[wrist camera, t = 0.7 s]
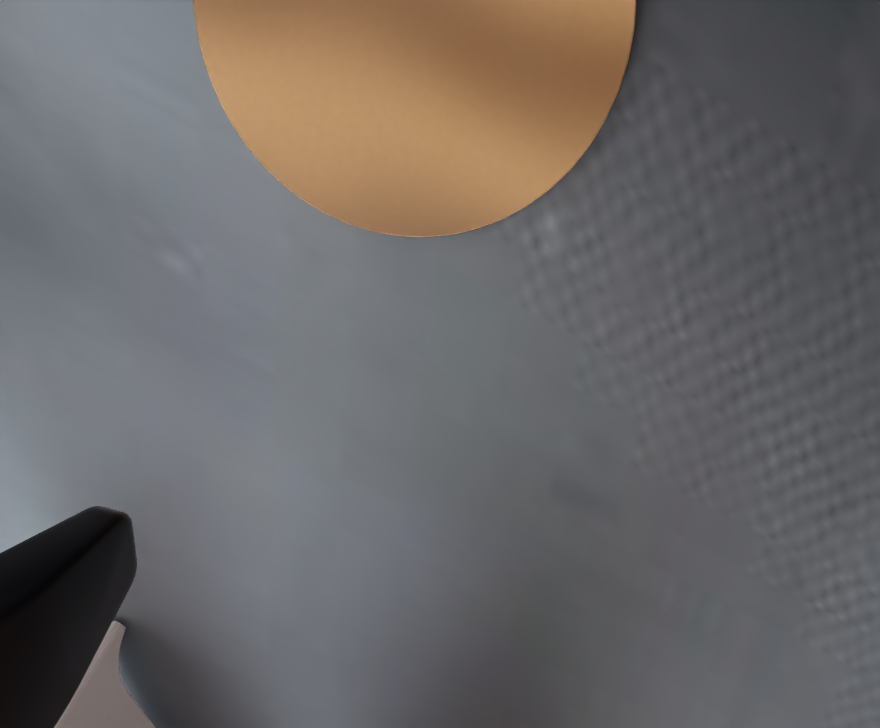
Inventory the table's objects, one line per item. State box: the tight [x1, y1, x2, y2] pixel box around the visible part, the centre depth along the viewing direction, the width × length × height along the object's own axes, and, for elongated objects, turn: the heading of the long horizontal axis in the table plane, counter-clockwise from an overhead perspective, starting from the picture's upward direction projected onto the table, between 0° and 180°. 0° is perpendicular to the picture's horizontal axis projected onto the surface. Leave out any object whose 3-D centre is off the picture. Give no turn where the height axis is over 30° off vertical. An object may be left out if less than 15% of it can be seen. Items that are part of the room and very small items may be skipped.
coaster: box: [193, 0, 636, 237], centre depth 20 cm, size 11×11×1 cm
